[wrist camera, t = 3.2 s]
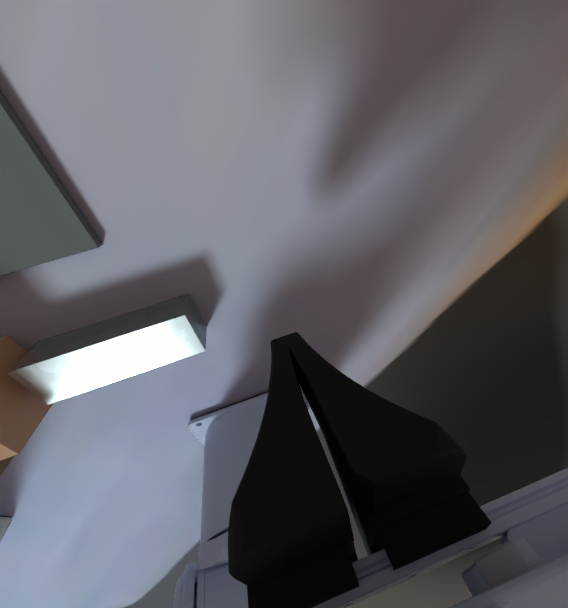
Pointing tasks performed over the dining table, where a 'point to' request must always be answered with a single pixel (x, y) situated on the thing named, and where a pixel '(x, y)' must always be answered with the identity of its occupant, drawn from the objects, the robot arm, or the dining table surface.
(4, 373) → the block
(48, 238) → the coaster
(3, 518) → the syrup box
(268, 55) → the dining table surface
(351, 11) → the dining table surface
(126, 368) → the silver square bar
